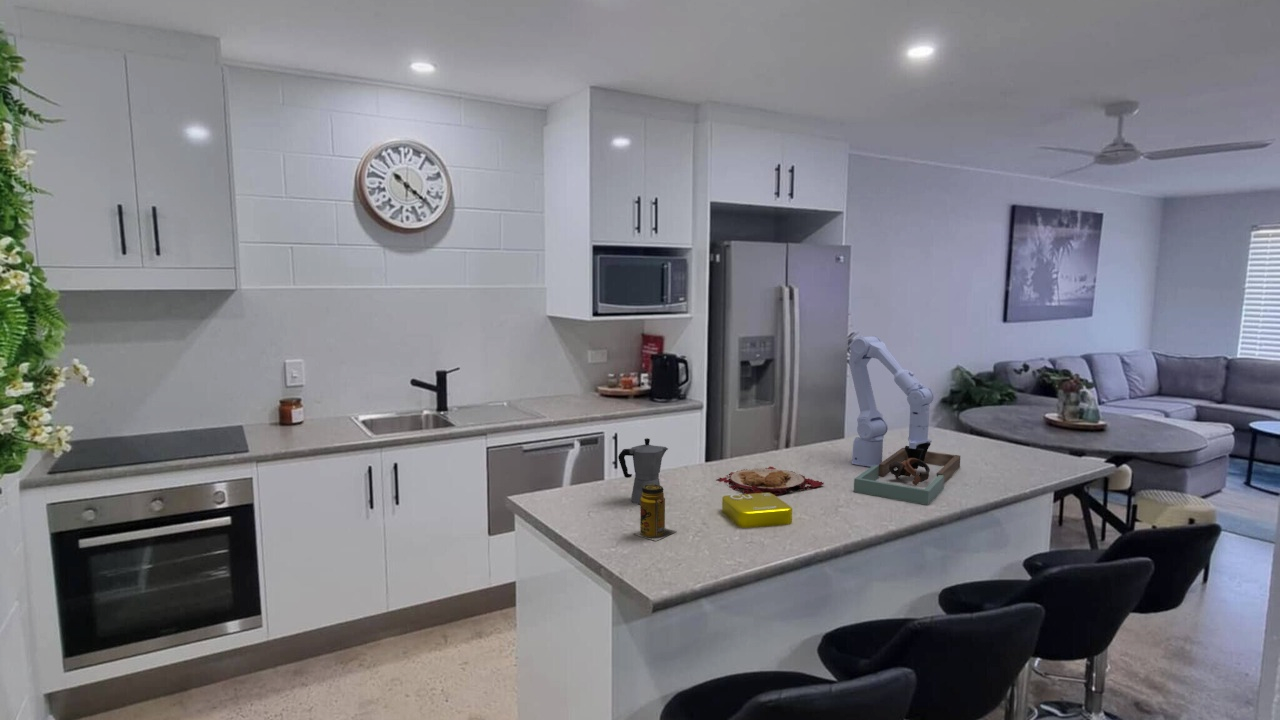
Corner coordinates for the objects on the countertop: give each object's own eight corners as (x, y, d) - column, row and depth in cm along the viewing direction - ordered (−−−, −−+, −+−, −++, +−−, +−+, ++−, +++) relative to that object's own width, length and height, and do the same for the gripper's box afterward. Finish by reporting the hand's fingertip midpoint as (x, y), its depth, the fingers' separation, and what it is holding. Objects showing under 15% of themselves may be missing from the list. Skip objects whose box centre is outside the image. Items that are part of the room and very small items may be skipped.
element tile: (740, 529, 174) (740, 511, 173) (719, 510, 188) (720, 493, 188) (794, 525, 177) (795, 507, 177) (770, 506, 192) (770, 490, 191)
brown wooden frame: (878, 476, 222) (879, 464, 221) (902, 458, 244) (902, 447, 244) (941, 486, 211) (942, 473, 210) (959, 467, 233) (960, 455, 233)
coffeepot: (659, 492, 203) (660, 433, 201) (675, 502, 194) (675, 439, 192) (611, 499, 196) (611, 437, 194) (625, 509, 188) (625, 445, 186)
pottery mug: (917, 477, 222) (929, 459, 217) (923, 498, 214) (935, 479, 210) (881, 467, 222) (892, 449, 217) (886, 488, 214) (898, 469, 209)
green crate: (853, 491, 205) (854, 478, 205) (873, 477, 221) (874, 464, 220) (928, 505, 193) (928, 491, 192) (943, 488, 209) (944, 475, 208)
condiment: (632, 534, 169) (633, 487, 168) (654, 525, 176) (654, 479, 174) (655, 541, 164) (656, 493, 163) (677, 532, 171) (677, 485, 170)
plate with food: (825, 489, 210) (825, 477, 210) (758, 500, 196) (758, 488, 196) (771, 471, 231) (771, 460, 231) (707, 480, 218) (707, 469, 217)
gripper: (926, 430, 213) (924, 473, 215) (937, 423, 225) (934, 463, 227) (903, 427, 217) (901, 469, 219) (914, 420, 229) (912, 460, 231)
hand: (916, 466), depth 223 cm, fingers open, 7 cm apart
